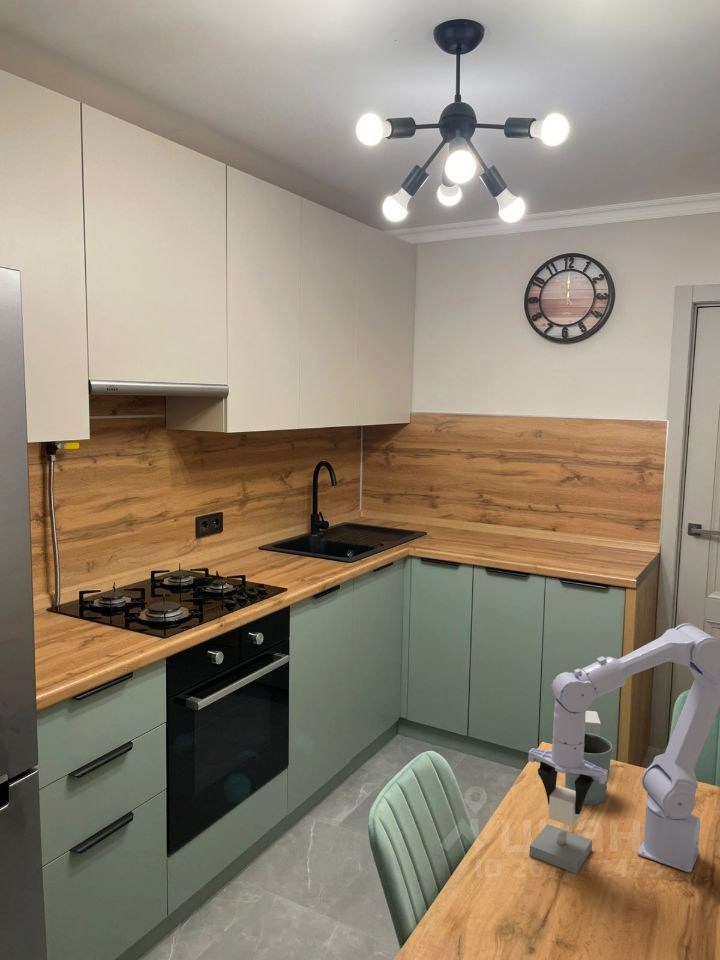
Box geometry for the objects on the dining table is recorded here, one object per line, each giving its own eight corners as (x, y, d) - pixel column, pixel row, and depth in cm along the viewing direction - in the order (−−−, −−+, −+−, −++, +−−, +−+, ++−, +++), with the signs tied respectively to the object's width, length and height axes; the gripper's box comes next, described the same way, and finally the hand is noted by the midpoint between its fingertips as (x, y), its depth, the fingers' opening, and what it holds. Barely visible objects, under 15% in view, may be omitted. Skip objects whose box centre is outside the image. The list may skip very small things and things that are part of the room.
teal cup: (607, 786, 164) (610, 735, 162) (611, 810, 154) (615, 756, 153) (560, 780, 166) (563, 729, 165) (562, 803, 156) (565, 750, 155)
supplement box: (598, 776, 168) (601, 723, 167) (565, 772, 170) (568, 720, 168) (594, 761, 175) (597, 710, 174) (563, 757, 177) (565, 707, 176)
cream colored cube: (580, 815, 138) (581, 792, 138) (572, 826, 134) (573, 803, 134) (556, 807, 141) (558, 785, 140) (548, 818, 137) (549, 795, 136)
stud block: (591, 849, 140) (592, 830, 139) (576, 873, 132) (577, 853, 132) (546, 833, 145) (547, 814, 144) (529, 855, 137) (530, 835, 137)
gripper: (523, 735, 137) (520, 803, 138) (601, 757, 128) (597, 830, 130) (537, 722, 142) (534, 788, 144) (612, 743, 134) (608, 812, 136)
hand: (564, 807), depth 137 cm, fingers closed on cream colored cube, 4 cm apart
